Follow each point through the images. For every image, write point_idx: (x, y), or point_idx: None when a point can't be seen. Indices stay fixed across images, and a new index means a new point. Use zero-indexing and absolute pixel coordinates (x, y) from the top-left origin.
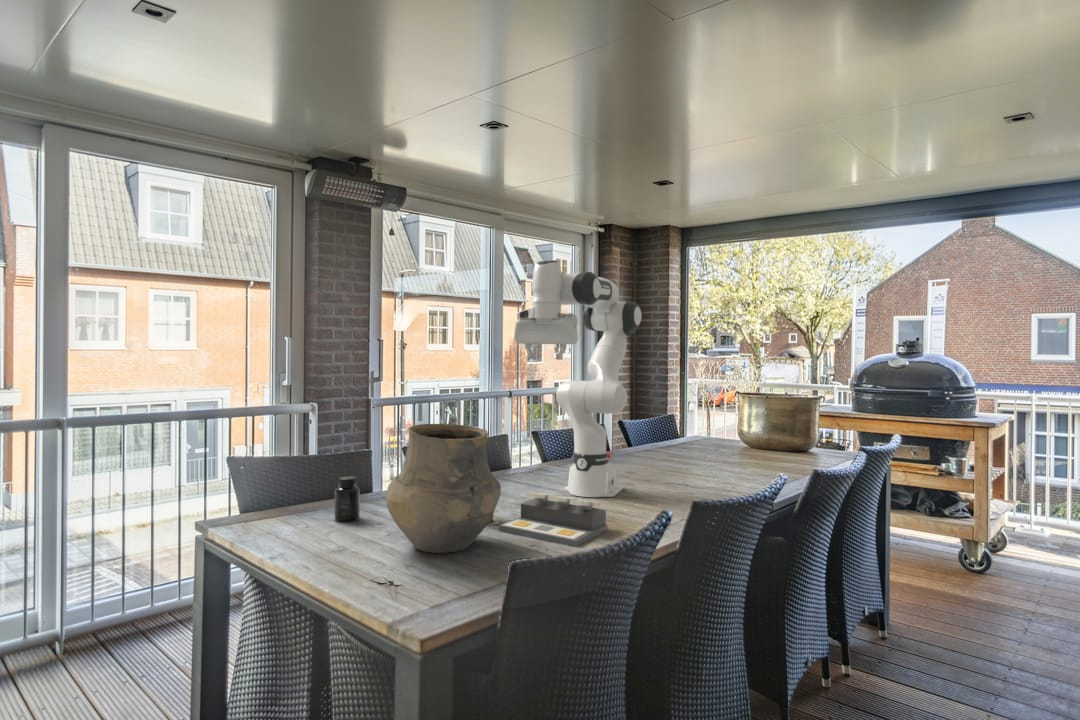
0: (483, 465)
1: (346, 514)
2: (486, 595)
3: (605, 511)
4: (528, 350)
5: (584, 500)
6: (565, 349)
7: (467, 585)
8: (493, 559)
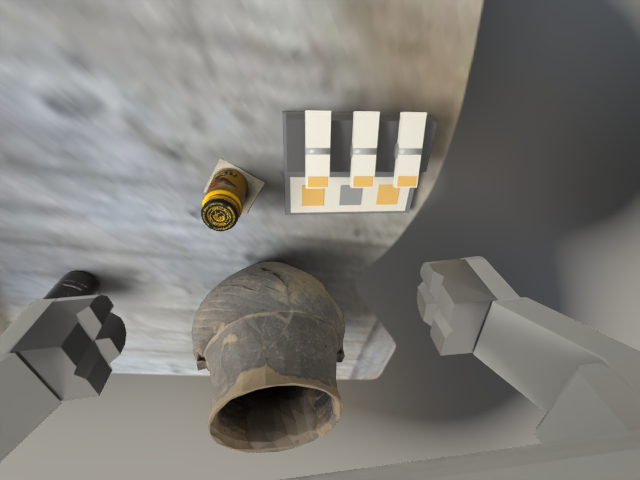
0: (335, 362)
1: None
2: (380, 334)
3: (436, 122)
4: (19, 443)
5: (402, 134)
6: (610, 342)
7: (357, 330)
8: (342, 284)
